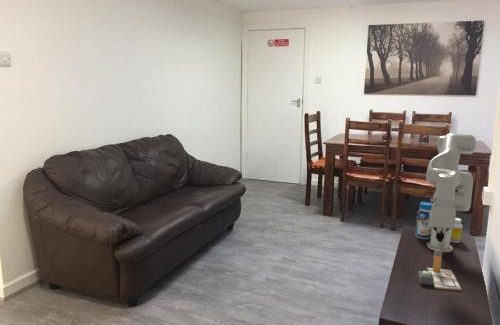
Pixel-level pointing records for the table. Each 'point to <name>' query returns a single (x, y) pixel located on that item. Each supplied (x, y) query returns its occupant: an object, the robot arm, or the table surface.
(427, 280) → the button housing
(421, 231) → the beverage bottle
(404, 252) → the table surface
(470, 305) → the table surface
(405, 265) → the table surface
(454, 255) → the table surface
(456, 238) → the supplement bottle
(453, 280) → the sheet
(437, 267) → the marker
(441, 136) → the robot arm
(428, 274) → the button
